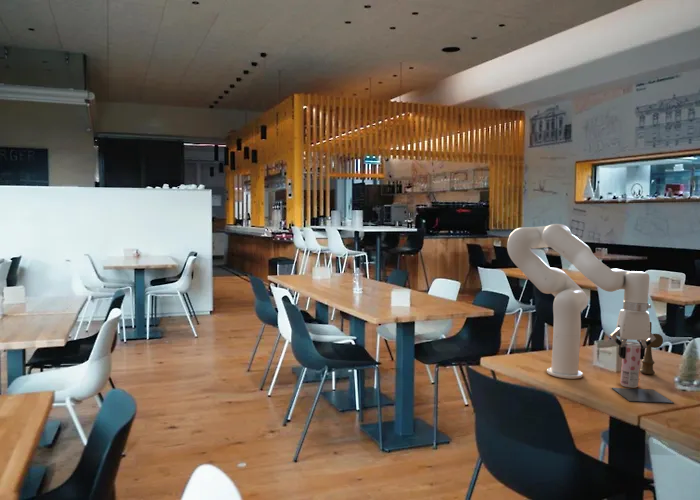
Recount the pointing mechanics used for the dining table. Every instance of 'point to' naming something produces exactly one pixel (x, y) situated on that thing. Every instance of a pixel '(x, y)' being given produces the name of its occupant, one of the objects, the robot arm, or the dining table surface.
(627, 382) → the beverage can
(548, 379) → the dining table surface
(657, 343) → the kendama
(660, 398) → the mat
